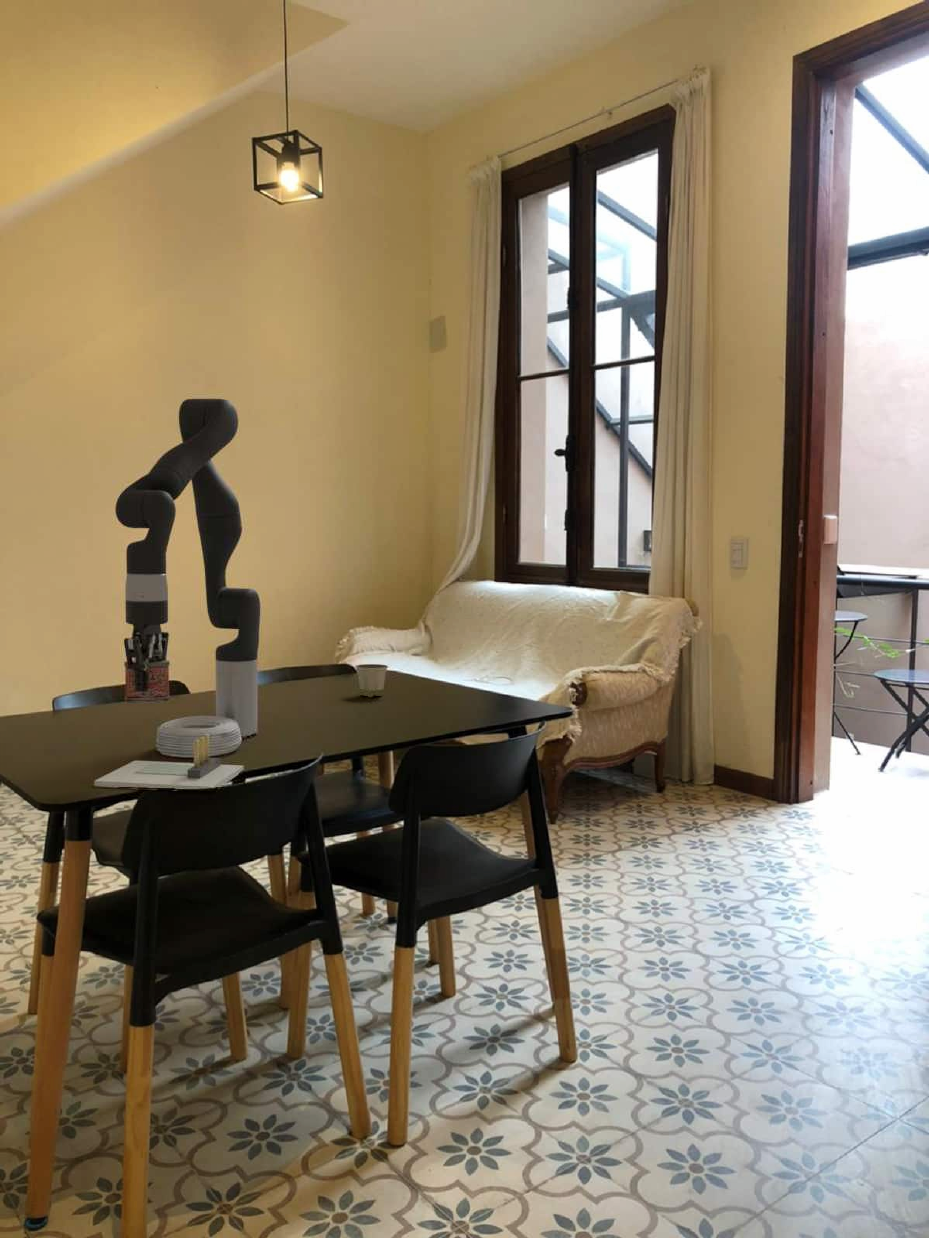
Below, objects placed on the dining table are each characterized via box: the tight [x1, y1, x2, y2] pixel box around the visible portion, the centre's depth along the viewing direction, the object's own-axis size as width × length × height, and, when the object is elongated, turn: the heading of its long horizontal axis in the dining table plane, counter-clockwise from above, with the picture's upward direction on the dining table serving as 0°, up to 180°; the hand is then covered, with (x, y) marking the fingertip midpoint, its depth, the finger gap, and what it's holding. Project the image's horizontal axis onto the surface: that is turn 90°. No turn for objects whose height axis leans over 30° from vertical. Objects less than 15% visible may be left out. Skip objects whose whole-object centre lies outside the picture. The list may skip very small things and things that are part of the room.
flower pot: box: [354, 663, 389, 691], centre depth 276 cm, size 9×9×9 cm
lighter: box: [123, 650, 171, 704], centre depth 182 cm, size 8×3×10 cm, turn 108°
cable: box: [155, 715, 243, 759], centre depth 204 cm, size 18×18×6 cm
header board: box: [94, 734, 245, 789], centre depth 180 cm, size 16×22×8 cm
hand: (147, 688), depth 182 cm, fingers closed on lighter, 4 cm apart
